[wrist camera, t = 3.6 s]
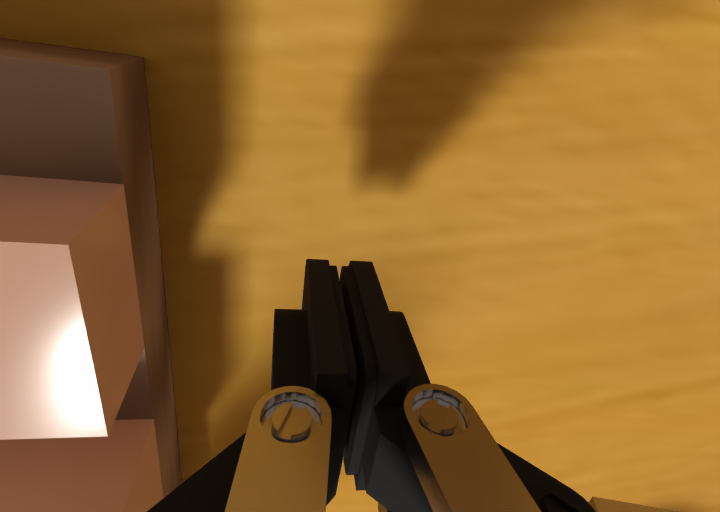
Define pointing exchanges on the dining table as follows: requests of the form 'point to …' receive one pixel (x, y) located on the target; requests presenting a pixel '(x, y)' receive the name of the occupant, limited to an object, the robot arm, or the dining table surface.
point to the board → (98, 164)
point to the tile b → (83, 472)
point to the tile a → (65, 307)
